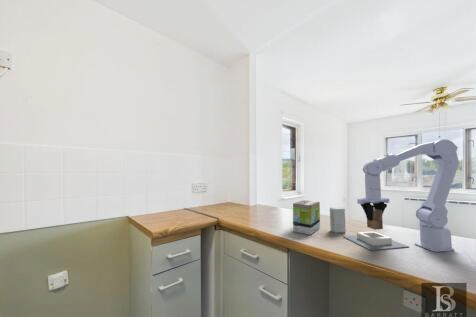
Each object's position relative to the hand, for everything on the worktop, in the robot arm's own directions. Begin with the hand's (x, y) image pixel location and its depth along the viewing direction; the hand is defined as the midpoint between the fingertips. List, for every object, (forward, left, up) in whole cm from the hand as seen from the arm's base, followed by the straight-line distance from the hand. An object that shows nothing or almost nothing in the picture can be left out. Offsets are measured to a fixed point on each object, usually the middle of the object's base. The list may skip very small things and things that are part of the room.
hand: (374, 219), depth 89 cm
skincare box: (+6, -17, -10) cm, 20 cm away
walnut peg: (0, 0, -3) cm, 4 cm away
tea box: (+20, -23, -10) cm, 32 cm away
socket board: (0, -1, -10) cm, 10 cm away
